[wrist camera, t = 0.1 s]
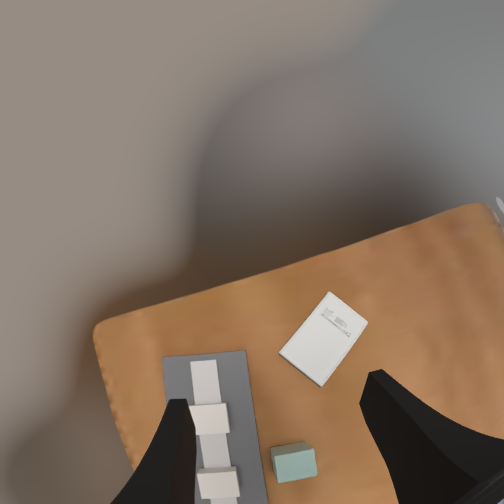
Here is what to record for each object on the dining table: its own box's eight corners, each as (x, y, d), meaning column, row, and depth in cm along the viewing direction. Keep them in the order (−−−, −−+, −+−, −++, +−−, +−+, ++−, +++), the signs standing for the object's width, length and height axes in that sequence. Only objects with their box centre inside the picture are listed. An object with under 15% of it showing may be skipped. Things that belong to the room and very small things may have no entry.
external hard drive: (277, 353, 42) (326, 293, 47) (319, 387, 40) (365, 324, 45) (278, 352, 41) (329, 290, 45) (322, 387, 39) (369, 322, 43)
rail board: (270, 521, 30) (274, 533, 26) (189, 526, 29) (185, 538, 25) (245, 350, 42) (245, 346, 38) (163, 357, 41) (155, 354, 37)
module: (307, 465, 34) (317, 475, 29) (273, 471, 34) (278, 483, 29) (304, 441, 36) (313, 448, 31) (269, 447, 36) (274, 456, 30)
